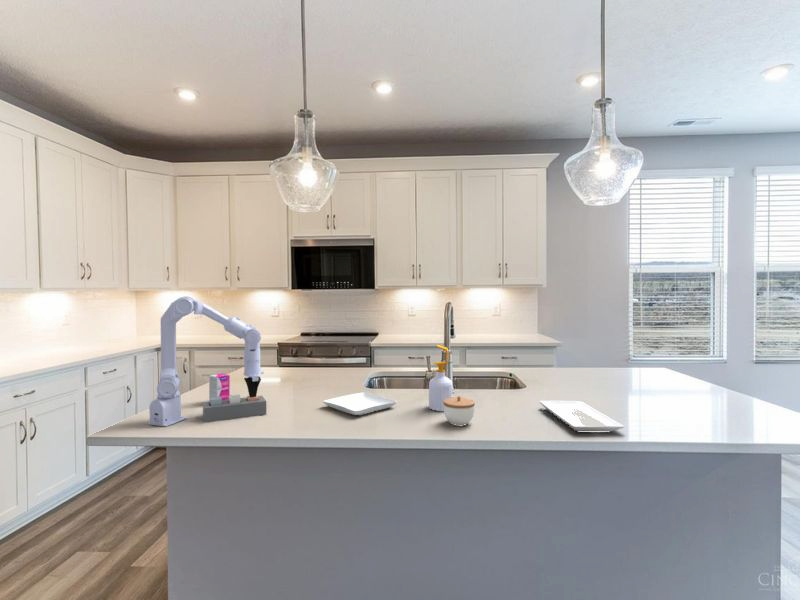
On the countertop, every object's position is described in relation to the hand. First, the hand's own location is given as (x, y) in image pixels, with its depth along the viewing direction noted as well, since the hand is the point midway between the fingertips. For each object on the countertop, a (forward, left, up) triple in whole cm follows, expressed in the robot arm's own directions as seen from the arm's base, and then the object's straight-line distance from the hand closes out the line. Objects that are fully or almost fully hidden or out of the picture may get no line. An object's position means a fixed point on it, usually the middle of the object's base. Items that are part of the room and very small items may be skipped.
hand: (252, 396), depth 162 cm
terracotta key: (0, 0, -4) cm, 4 cm away
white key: (-4, +5, -3) cm, 7 cm away
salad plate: (+18, -35, -7) cm, 41 cm away
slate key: (-9, +9, -3) cm, 13 cm away
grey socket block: (-5, +5, -6) cm, 9 cm away
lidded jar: (+11, -75, -6) cm, 77 cm away
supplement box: (+7, +22, -6) cm, 24 cm away
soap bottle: (+27, -65, -6) cm, 71 cm away
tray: (+28, -115, -7) cm, 118 cm away
